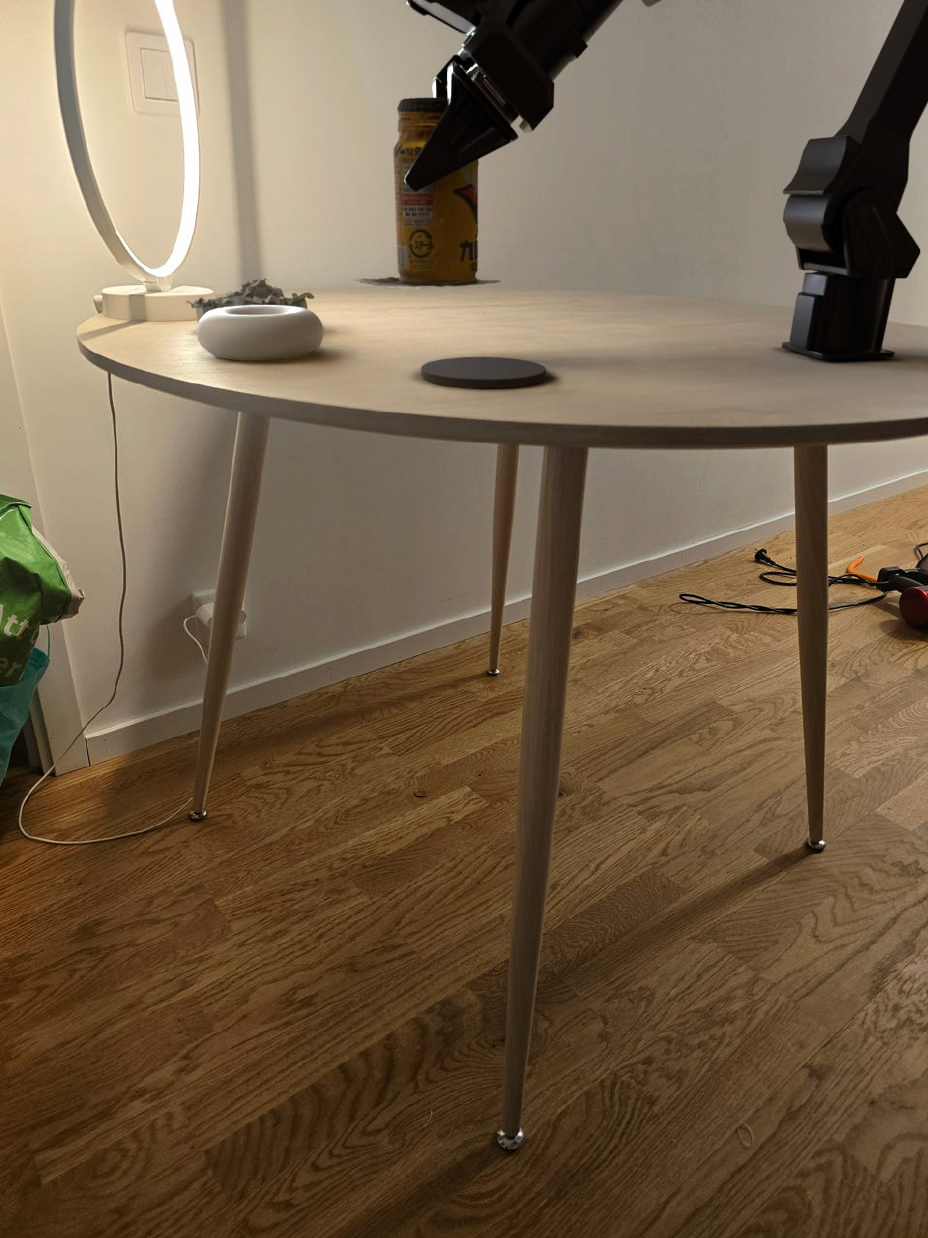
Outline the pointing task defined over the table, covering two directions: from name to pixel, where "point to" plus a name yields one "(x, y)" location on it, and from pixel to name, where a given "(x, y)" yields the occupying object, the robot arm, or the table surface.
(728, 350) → the table surface
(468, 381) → the coaster
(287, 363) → the table surface
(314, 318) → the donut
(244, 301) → the grey crumpled piece
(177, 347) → the table surface
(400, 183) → the condiment
